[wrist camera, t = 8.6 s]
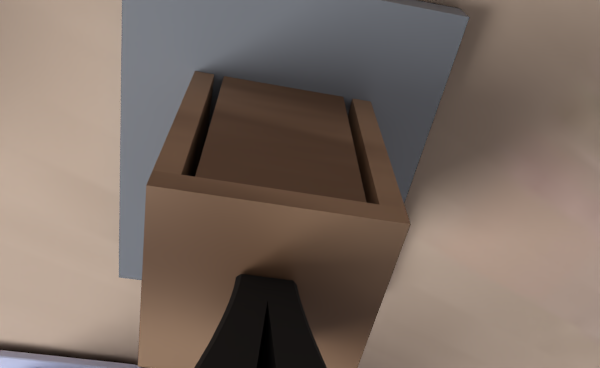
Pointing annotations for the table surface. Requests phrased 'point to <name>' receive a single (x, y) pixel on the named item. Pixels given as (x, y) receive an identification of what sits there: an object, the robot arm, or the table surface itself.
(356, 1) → the post base
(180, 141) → the sliding lid crate
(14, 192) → the table surface
